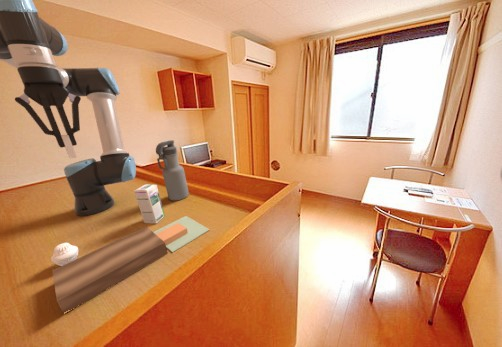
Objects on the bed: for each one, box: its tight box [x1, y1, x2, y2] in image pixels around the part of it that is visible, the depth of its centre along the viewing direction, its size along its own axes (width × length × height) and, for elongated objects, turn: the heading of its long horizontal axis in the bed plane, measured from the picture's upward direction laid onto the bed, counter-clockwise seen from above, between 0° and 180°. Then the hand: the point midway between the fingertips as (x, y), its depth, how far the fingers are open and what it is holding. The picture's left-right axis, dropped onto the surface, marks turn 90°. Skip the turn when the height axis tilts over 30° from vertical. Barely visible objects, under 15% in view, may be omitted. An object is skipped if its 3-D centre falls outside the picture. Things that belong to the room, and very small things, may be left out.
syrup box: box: [134, 183, 166, 224], centre depth 77 cm, size 6×6×14 cm
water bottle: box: [155, 140, 189, 202], centre depth 95 cm, size 10×10×28 cm
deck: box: [51, 226, 169, 313], centre depth 56 cm, size 14×24×4 cm, turn 138°
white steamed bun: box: [50, 242, 79, 267], centre depth 58 cm, size 6×6×7 cm
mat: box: [152, 215, 210, 253], centre depth 70 cm, size 16×14×1 cm
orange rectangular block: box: [156, 223, 188, 245], centre depth 67 cm, size 6×9×2 cm, turn 138°
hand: (72, 157), depth 58 cm, fingers closed
